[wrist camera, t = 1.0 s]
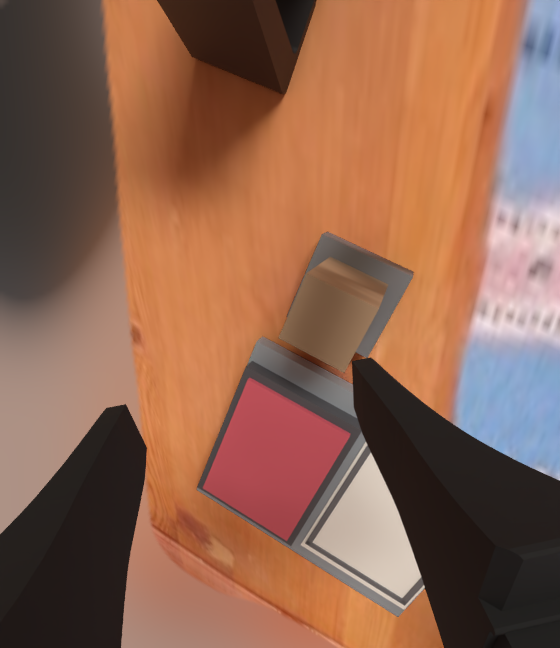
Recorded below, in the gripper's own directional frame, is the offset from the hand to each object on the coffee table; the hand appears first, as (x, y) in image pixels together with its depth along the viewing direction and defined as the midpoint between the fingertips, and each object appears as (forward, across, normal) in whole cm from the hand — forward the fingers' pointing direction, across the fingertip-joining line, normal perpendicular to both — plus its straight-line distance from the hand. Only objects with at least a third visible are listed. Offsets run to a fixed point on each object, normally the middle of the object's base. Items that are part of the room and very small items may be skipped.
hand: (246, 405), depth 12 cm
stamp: (+11, -7, +3) cm, 13 cm away
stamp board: (+8, -4, +17) cm, 19 cm away
